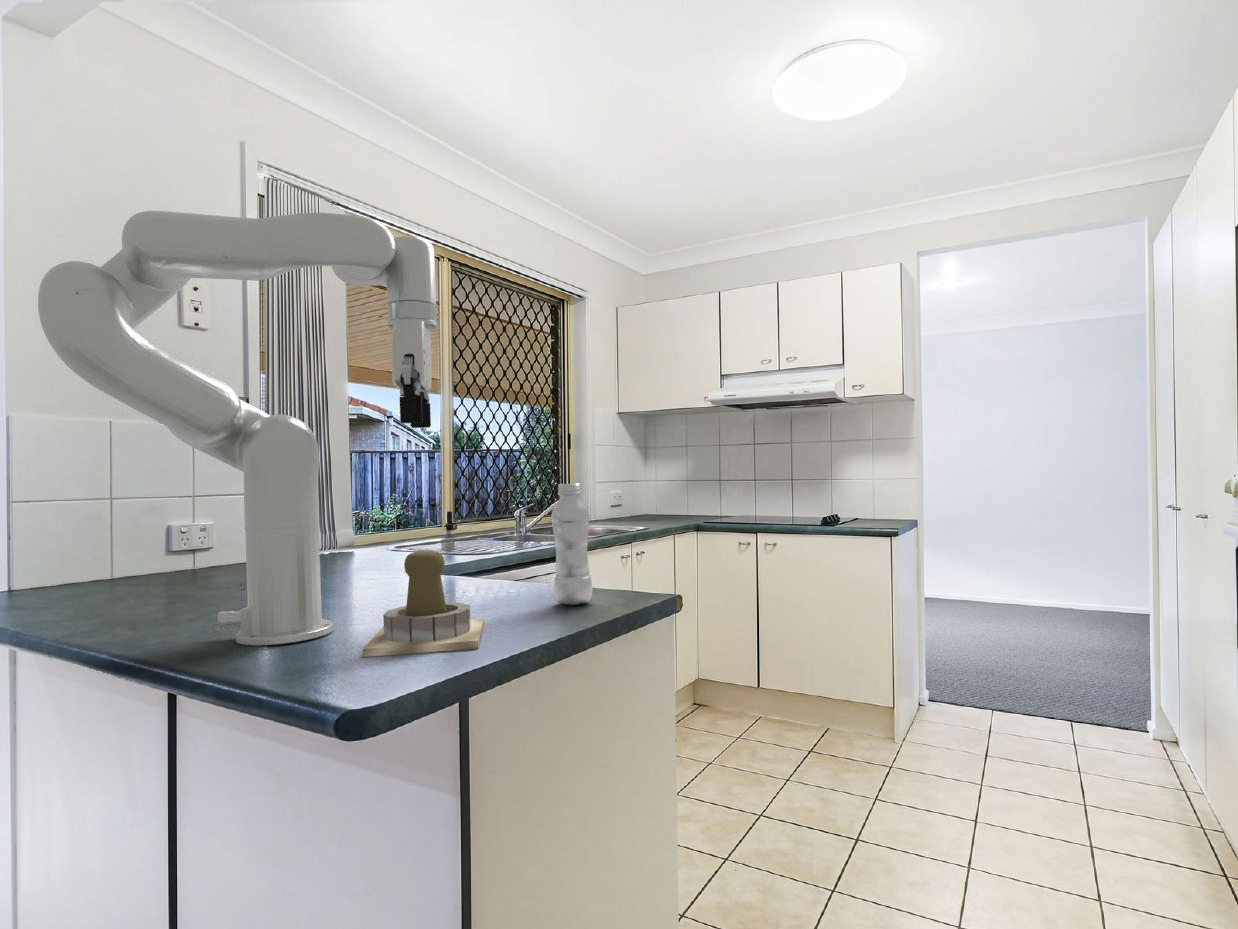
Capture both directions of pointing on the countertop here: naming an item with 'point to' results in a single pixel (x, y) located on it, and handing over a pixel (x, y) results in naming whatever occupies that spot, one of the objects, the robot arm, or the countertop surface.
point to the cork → (425, 583)
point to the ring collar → (426, 632)
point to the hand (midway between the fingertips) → (416, 425)
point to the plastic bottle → (571, 547)
